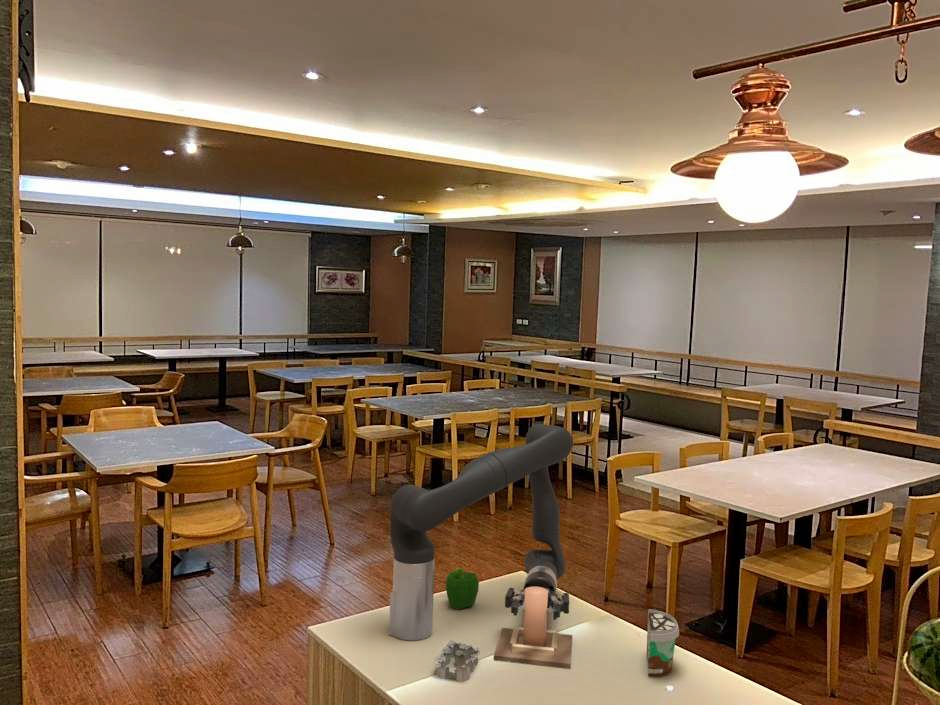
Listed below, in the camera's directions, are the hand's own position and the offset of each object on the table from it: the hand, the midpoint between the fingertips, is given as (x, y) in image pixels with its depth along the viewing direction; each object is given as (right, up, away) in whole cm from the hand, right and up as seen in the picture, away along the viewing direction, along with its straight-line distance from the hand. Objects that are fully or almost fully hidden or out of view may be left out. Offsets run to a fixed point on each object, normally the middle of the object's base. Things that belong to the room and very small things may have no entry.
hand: (535, 613), depth 157 cm
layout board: (0, -9, +2) cm, 9 cm away
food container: (+26, -10, -4) cm, 28 cm away
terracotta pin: (0, -8, +2) cm, 8 cm away
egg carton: (-17, -9, -7) cm, 20 cm away
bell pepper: (-16, -7, +25) cm, 31 cm away
